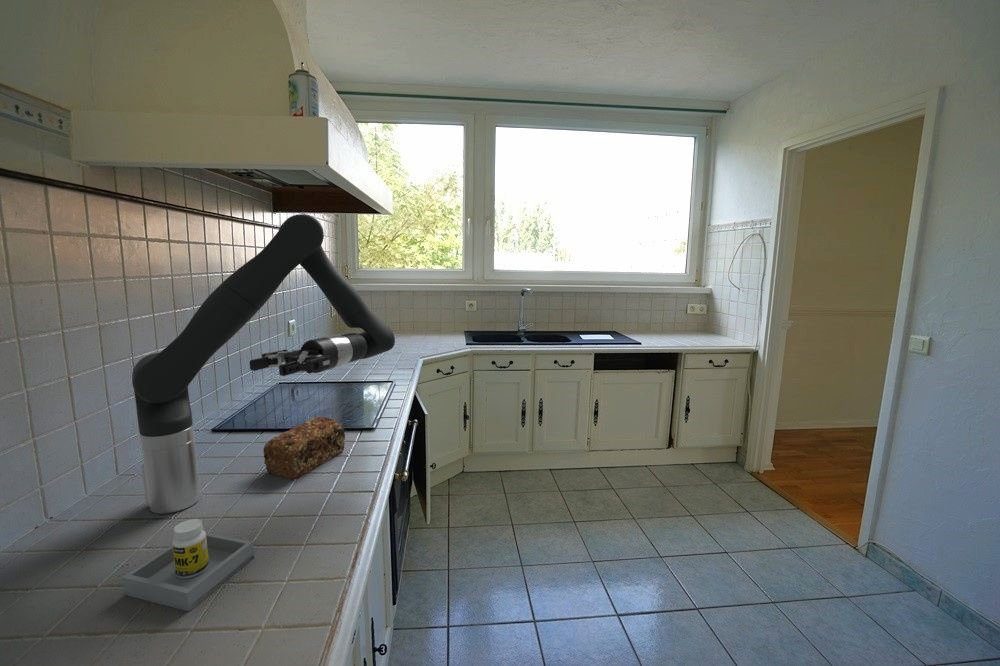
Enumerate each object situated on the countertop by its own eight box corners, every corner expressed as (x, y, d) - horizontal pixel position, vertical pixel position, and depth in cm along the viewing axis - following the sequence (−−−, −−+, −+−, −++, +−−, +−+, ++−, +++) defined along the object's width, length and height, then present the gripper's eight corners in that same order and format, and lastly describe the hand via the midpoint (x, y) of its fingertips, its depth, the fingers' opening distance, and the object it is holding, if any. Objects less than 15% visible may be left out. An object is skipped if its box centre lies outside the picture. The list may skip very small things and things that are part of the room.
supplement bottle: (171, 582, 75) (164, 536, 73) (182, 563, 79) (177, 519, 78) (204, 576, 76) (198, 531, 74) (213, 558, 80) (208, 515, 79)
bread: (318, 445, 130) (316, 412, 128) (348, 451, 126) (346, 417, 124) (262, 474, 113) (259, 436, 111) (294, 482, 109) (292, 443, 107)
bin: (125, 594, 73) (122, 577, 72) (197, 545, 85) (195, 530, 85) (189, 611, 70) (186, 593, 69) (254, 557, 82) (252, 541, 81)
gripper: (304, 334, 107) (239, 346, 92) (350, 340, 101) (289, 353, 86) (305, 365, 108) (242, 381, 93) (351, 372, 102) (292, 391, 88)
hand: (265, 368), depth 90 cm, fingers open, 8 cm apart
